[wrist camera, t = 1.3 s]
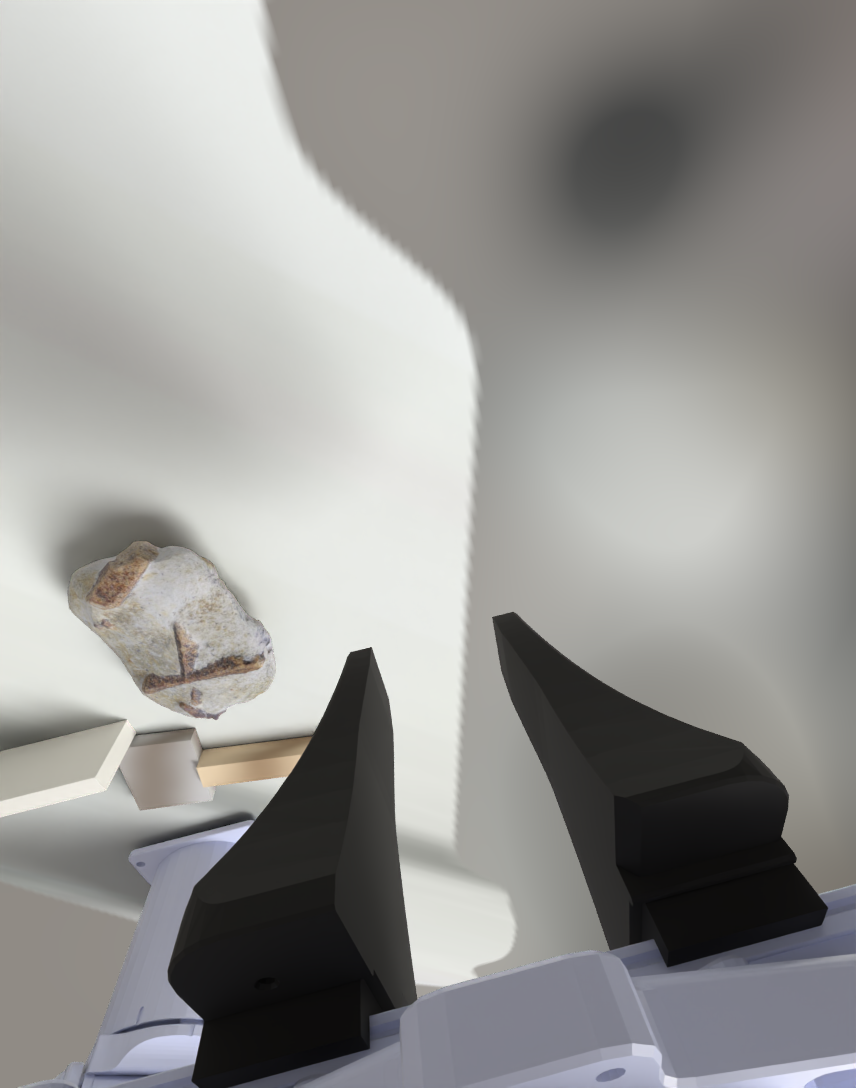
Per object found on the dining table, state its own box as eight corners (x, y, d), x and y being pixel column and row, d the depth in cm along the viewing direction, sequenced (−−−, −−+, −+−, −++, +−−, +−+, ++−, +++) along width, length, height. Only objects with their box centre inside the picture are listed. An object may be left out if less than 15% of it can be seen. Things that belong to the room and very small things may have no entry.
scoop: (341, 710, 27) (341, 727, 26) (350, 770, 29) (350, 787, 28) (118, 737, 26) (107, 756, 25) (145, 797, 28) (137, 817, 27)
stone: (309, 659, 25) (302, 698, 22) (187, 708, 25) (169, 750, 23) (193, 509, 20) (170, 539, 18) (48, 574, 21) (8, 611, 18)
